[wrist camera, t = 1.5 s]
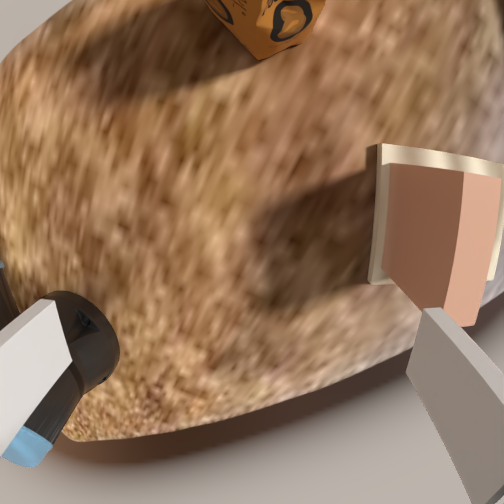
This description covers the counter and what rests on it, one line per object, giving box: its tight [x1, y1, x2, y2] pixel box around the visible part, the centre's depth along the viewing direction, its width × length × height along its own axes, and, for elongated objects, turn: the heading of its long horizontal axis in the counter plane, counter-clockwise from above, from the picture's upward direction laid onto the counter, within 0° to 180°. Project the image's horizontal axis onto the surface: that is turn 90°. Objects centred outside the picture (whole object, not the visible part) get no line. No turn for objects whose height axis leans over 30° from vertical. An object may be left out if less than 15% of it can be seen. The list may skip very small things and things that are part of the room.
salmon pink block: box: [381, 163, 501, 327], centre depth 26 cm, size 4×12×14 cm, turn 0°
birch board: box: [367, 144, 504, 285], centre depth 33 cm, size 20×16×2 cm
